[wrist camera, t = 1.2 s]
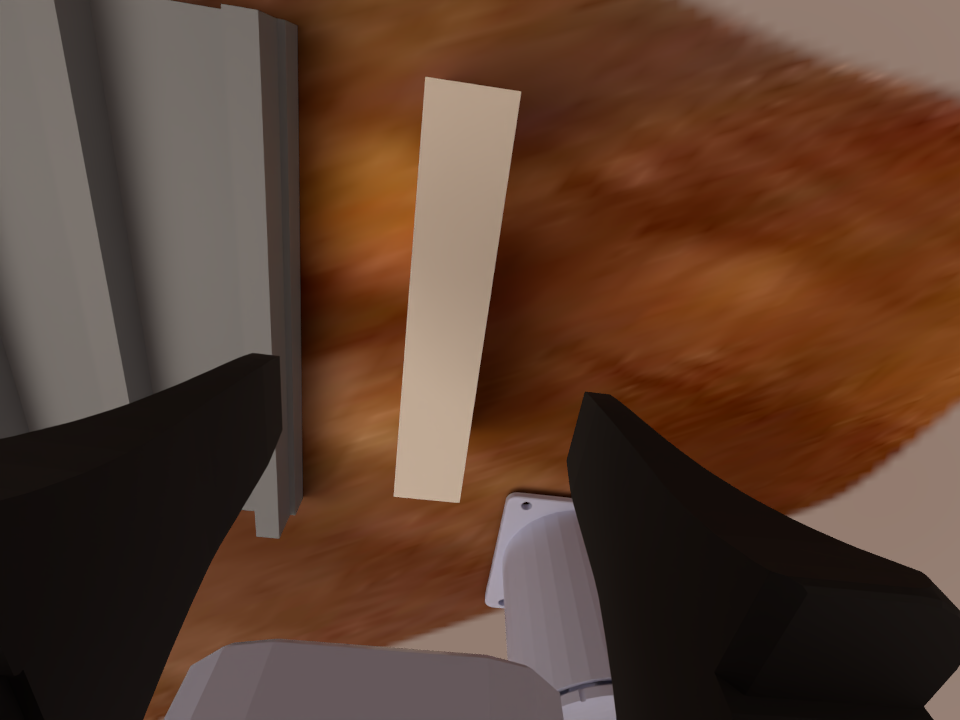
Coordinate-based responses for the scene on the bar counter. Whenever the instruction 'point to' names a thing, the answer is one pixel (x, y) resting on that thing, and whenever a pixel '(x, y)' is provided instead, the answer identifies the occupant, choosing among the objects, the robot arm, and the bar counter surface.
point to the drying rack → (148, 211)
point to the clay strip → (451, 278)
